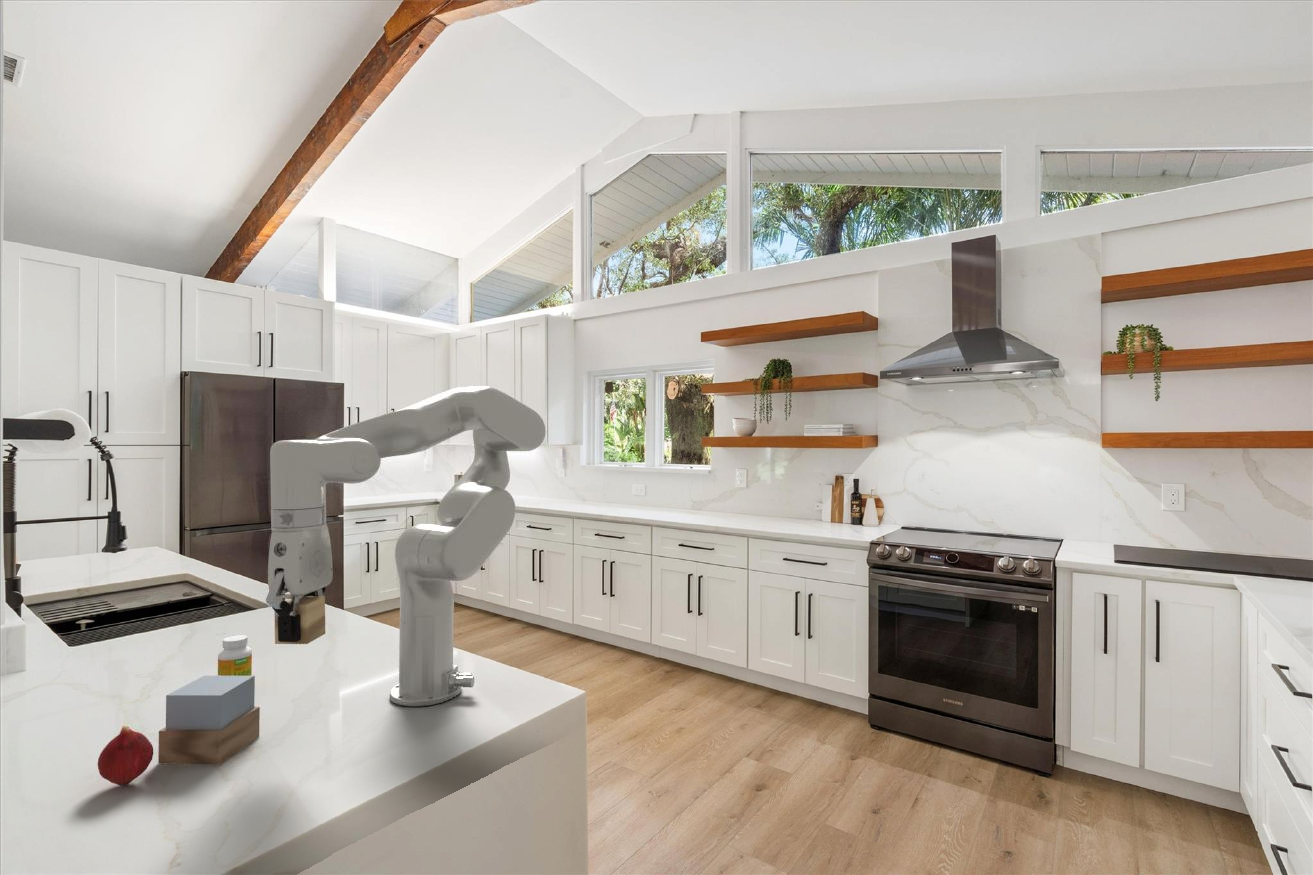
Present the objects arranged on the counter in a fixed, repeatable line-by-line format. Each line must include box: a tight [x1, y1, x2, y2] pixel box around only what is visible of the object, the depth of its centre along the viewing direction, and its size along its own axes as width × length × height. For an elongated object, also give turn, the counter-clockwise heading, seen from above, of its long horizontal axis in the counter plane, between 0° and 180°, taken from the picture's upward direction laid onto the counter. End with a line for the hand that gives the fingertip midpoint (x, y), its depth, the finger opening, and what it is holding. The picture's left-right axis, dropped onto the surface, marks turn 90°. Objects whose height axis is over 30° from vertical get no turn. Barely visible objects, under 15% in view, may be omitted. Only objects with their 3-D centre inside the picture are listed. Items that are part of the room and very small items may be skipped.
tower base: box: [157, 706, 261, 766], centre depth 98 cm, size 9×9×5 cm
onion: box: [97, 725, 154, 787], centre depth 87 cm, size 6×6×8 cm
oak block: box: [274, 595, 326, 645], centre depth 100 cm, size 5×5×6 cm
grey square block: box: [165, 675, 256, 730], centre depth 98 cm, size 8×8×5 cm
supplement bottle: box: [217, 634, 253, 676], centre depth 121 cm, size 5×5×10 cm
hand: (300, 633), depth 100 cm, fingers closed on oak block, 5 cm apart
